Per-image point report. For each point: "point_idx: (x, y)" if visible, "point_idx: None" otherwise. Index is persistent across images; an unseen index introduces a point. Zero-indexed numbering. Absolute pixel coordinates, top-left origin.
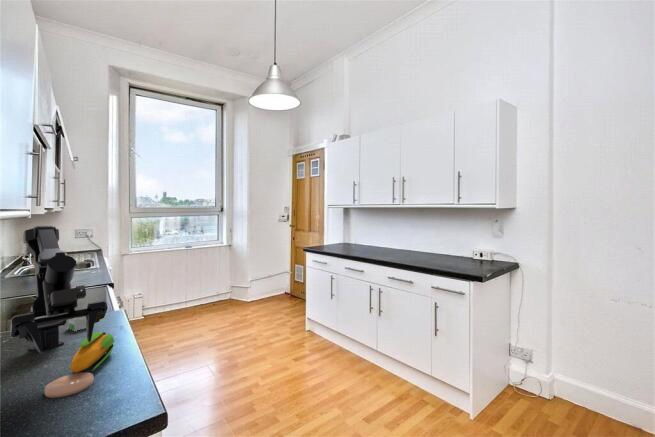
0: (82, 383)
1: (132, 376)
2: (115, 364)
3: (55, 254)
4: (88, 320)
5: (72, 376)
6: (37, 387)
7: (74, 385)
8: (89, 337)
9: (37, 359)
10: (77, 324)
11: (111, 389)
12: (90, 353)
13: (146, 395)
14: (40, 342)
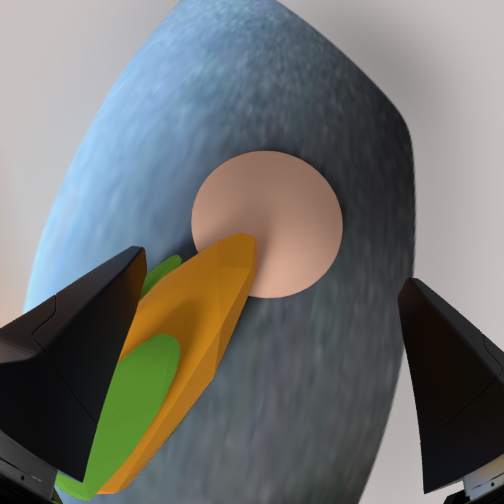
0: (244, 165)
1: (117, 133)
2: None
3: None
4: (41, 378)
5: None
6: (338, 324)
7: (267, 175)
8: (132, 253)
9: None
10: None
11: (193, 101)
12: (153, 296)
13: (167, 30)
14: (445, 313)
